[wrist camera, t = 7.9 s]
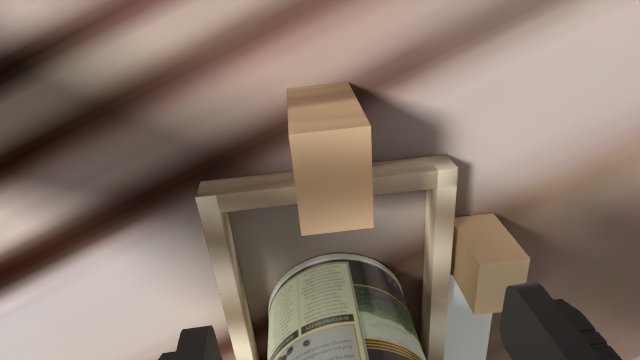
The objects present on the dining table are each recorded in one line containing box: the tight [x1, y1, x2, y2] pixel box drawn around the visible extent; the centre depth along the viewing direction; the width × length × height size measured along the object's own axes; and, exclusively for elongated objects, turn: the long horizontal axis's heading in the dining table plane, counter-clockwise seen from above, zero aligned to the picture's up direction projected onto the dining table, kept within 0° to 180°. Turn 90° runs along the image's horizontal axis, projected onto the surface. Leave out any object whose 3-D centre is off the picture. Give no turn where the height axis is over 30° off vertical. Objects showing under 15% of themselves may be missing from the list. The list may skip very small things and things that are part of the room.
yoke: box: [195, 83, 458, 360], centre depth 27 cm, size 23×15×7 cm, turn 5°
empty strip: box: [444, 213, 530, 360], centre depth 32 cm, size 22×4×5 cm, turn 5°
